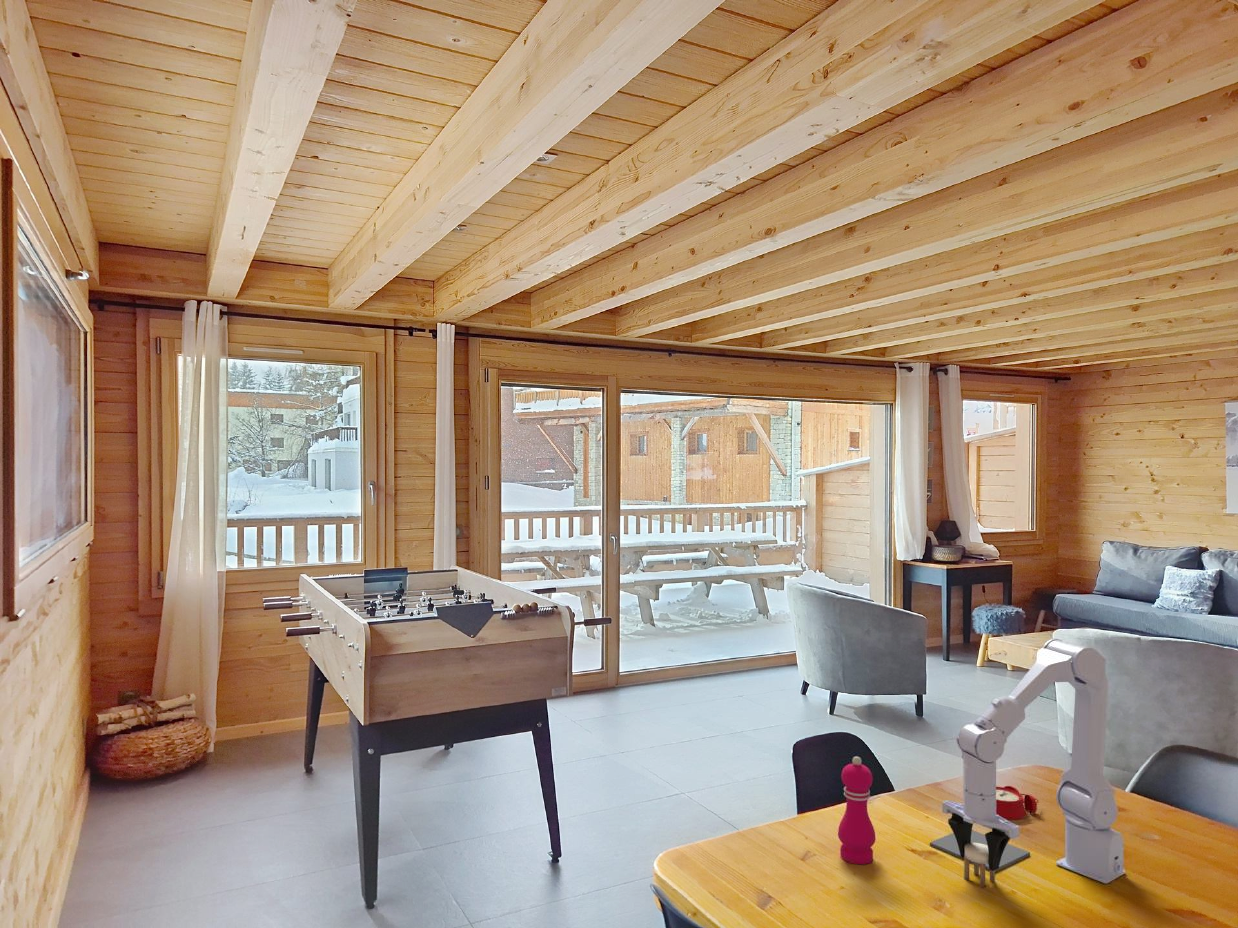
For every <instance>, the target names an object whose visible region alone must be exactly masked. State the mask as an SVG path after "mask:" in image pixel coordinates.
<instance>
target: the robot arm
mask: <svg viewBox="0 0 1238 928" xmlns="http://www.w3.org/2000/svg"><path fill="white" fill-rule="evenodd" d="M1106 660H1107V659H1106V658H1105V657H1104V656H1103V655H1102V654H1101V653H1100V652H1099V651H1098V650H1097V649H1095V648H1094V647H1090V646H1083V645H1079V644H1076V643H1071V642H1068V641H1063V640H1062V639H1059V638H1051V639H1049V640H1047V641H1046V642H1045V643H1044V645H1043V646H1042V648H1040V649H1038V651H1037V652H1036V661H1035V662H1034V664H1033V665H1032V666H1031V668H1030V669H1029V670H1028V671H1027V672H1026V673H1025V675H1024V676H1023V678H1021V680H1020V681H1019V683H1018V684H1017V685H1016V687H1015V688H1014V689H1013V690H1012V692H1011V693H1010V694H1009V695H1005V696H1004V695H1003V696H998V697H997V698H994V699H993V700H992V701H991V705H989V707H988V708H986V710H984V712H983V713H982V714H981V715H980V716H979V717H978V718H977V719H975V721H974V723H970V724H966V725H965V726H963V727H962V728H961V729H960V731H959V733H958V737H955V739H956V745H957V746H958V748H959V750H960V751H961V759H962V761H963V763H962V764H963V765H962V768H963V771H962V772H963V775H962V776H963V777H962V779H963V781H962V782H963V783H962V784H963V785H962V789H963V791H962V792H963V793H962V796H963V797H962V799H963V800H962V801H963V803H959V802H956V801H955V802H954V801H952V800H944V801H942V804H941V808H942V809H941V811H942V813H944V814H951V816H950V818H948V819H947V824H948V826H949V827H950V828H951V830H952V833H954V835H955V838H956V840H957V843H958V847H959V851H960V855H961V858H963V859H964V856H965V845H966V844H968V843H971V832H972V830H973V826H974V824H976V825H980V826H982V827H984V828H988V829H990V830H991V831H988V832H986V833H985V834H984V835H985V837H986V841H987V845H988V852H989V870H992V871H994V870H996V869H998V868H999V864H1000V860H1001V857H1002V854H1003V851H1004V849H1005V847H1006V845H1007V844H1009V842H1010V840H1015V839H1018V838H1020V825H1017V824H1015V823H1012V822H1011V821H1009V820H1008V819H1004V818H1002V817H1000V816H999V815H997V814H996V786H997V760H998V759H1000V758H1001V757H1002V756H1003V754H1004V750H1005V744H1006V743H1008V738H1009V736H1011V735H1012V733H1013V732H1014V731H1016V730H1017V728H1018V727H1019V725H1021V724H1022V723H1023V722H1024V720H1026V710H1025V709H1026V708H1027V707H1028V706H1029V705H1031V704H1032V703H1033V702H1034V701H1035V700H1036V699H1037V698H1038V697H1039V696H1040V695H1042V694H1043V692H1045V691H1046V690H1047V689H1048V688H1049V687H1050V686H1051V685H1052V684H1054V683H1069V685H1071V686H1072V687H1073V689H1074V708H1073V723H1072V724H1073V727H1072V743H1071V744H1072V745H1071V762H1070V763H1071V764H1070V768H1069V769H1067V770H1066V771H1064V772H1062V773H1061V776H1060V783H1059V785H1058V787H1057V789H1056V792H1055V793H1056V794H1055V800H1056V803H1057V805H1058V807H1059V808H1060V809H1062V815H1063V816H1064V817H1065V821H1064V823H1065V825H1064V827H1065V829H1064V830H1065V832H1064V834H1065V835H1064V836H1065V838H1064V839H1065V843H1064V844H1065V845H1064V846H1065V847H1064V848H1065V850H1064V851H1065V857H1062V858H1061V859H1059V860H1057V861H1056V862H1055V864H1056V865H1057V866H1059V867H1061V868H1065V869H1067V870H1070V871H1072V872H1075V873H1077V874H1080V875H1083V876H1085V877H1088V878H1090V879H1093V880H1095V881H1098V882H1101V883H1102V884H1109V883H1111V882H1112V881H1114V880H1115V879H1117V878H1119V877H1120V876H1122V875H1124V874H1125V873H1126V870H1125V869H1124V867H1125V866H1124V865H1125V864H1124V863H1125V862H1124V855H1125V854H1124V846H1125V845H1124V838H1123V835H1122V833H1120V832H1119V831H1116V830H1115V829H1113V828H1111V826H1113V825H1114V824H1115V822H1116V820H1117V818H1118V814H1119V812H1118V810H1119V809H1118V805H1117V802H1116V798H1115V793H1116V791H1115V788H1114V787H1113V786H1112V785H1111V783H1110V782H1109V780H1107V778H1106V777H1105V775H1104V764H1105V747H1106V745H1105V744H1106V726H1107V709H1108V692H1109V691H1108V690H1109V682H1108V678H1107V675H1106V664H1107V662H1106ZM961 858H960V859H961ZM963 859H962V860H963ZM989 870H988V871H989Z"/></svg>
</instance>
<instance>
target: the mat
mask: <svg viewBox="0 0 1238 928" xmlns="http://www.w3.org/2000/svg"><path fill="white" fill-rule="evenodd" d="M971 843H980V844H984V845H987V841H986V837H985V834H984V833H982V832H978V831H977V830H974V829H972V832H971ZM929 846H930V847H933V848H934V849H937V850H939V851H943V852H944V853H947V854H948V855H952V856H954V857H956V858H958V859H961V860H963V861H964V859H963V858H961V855H960V851H959V847H958V843H957V840H956V838H955V835H954V833H953V832H952V833H950V834H947V835H944V836H942V837H939V838H937V839H935V840H931V842H929ZM987 846H988V845H987ZM1029 855H1030V856H1031V852H1030V851H1028V850H1025V849H1022V848H1020V847H1017V846H1015V845H1013V844H1010V843H1007V845H1006V847H1005V849H1004V851H1003V854H1002V857H1001V860H1000V864H999V868H998V869H996V870H995V873H996V872H999V871H1001V870H1002V868H1003V869H1005V868H1007V867H1009V866H1011V865H1013V864H1015V863H1017V862H1019V861H1021V860H1023V859H1025V857H1026V858H1027V857H1029ZM970 863H971V864H973V865H974V862H973V861H970V860H969V864H970ZM1006 866H1007V867H1006ZM979 867H980V863H979ZM1004 867H1005V868H1004ZM985 870H987V871H989V872H990V870H989V864H985Z"/></svg>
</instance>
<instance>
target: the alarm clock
mask: <svg viewBox="0 0 1238 928" xmlns="http://www.w3.org/2000/svg"><path fill="white" fill-rule="evenodd" d="M1038 803H1039V799H1037V798H1036V797H1034V796H1032V795H1031V794H1026V793H1020V792H1019V790H1018V789H1017V788H1016V787H1014V786H1011V785H1006V786H1003V787H1002V786H997V785H996V814H997V815H999V816H1000V817H1002V818H1004V819H1006V820H1013V821H1014V820H1022V819H1024V818H1025V817H1027V812H1030V813H1031V814H1030V816H1031V815H1035V814H1036V812H1037V811H1038V810H1037V808H1038V807H1037V805H1038Z"/></svg>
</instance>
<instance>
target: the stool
mask: <svg viewBox="0 0 1238 928" xmlns="http://www.w3.org/2000/svg"><path fill="white" fill-rule="evenodd" d="M969 860H970V861H973V862H974V864H973V874H974V875H975V876H979V886H980V887H981V888H985V887H986V869H985V864H989V852H988V846H987V845H984V844H980V843H968V844H966V845H965V856H964V860H963V862H964V863H963V864H964V865H963V867H964V868H963V874H964V875H963V878H964V880H967V881H969V880H970V862H969ZM979 863H980V866H979ZM995 873H996V872H995V870H994V871H992V870H990V871H989V882H991V883H995V882H996V874H995Z"/></svg>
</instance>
